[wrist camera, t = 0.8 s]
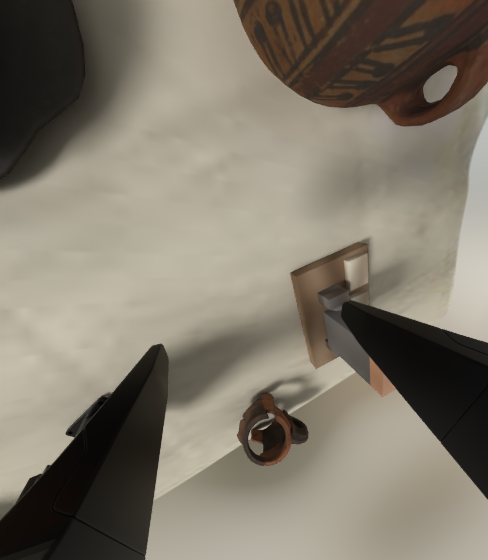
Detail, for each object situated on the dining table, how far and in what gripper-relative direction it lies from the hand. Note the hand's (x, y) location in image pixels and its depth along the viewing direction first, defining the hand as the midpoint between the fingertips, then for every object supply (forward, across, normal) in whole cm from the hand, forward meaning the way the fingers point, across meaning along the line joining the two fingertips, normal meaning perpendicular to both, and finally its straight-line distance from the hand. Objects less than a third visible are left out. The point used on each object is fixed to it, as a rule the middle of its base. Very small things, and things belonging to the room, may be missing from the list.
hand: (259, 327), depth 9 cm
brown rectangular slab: (+14, -15, +13) cm, 25 cm away
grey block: (+12, -14, +13) cm, 23 cm away
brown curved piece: (+12, -3, +31) cm, 33 cm away
